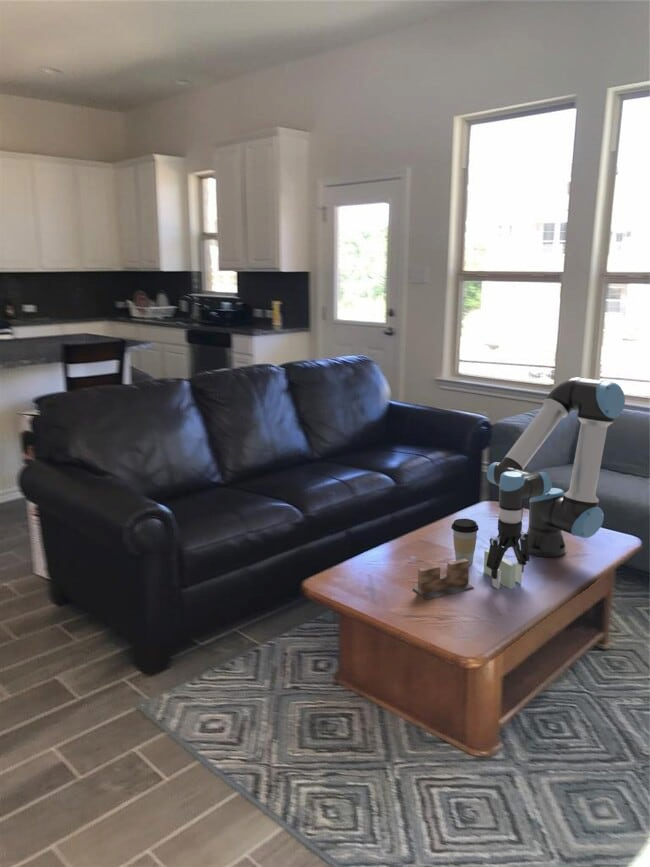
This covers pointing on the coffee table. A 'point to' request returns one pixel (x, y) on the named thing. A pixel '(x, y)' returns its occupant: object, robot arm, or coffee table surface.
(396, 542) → the coffee table surface
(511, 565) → the pale green upright panel
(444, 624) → the coffee table surface
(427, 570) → the brown piece
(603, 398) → the robot arm
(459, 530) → the coffee cup
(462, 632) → the coffee table surface
